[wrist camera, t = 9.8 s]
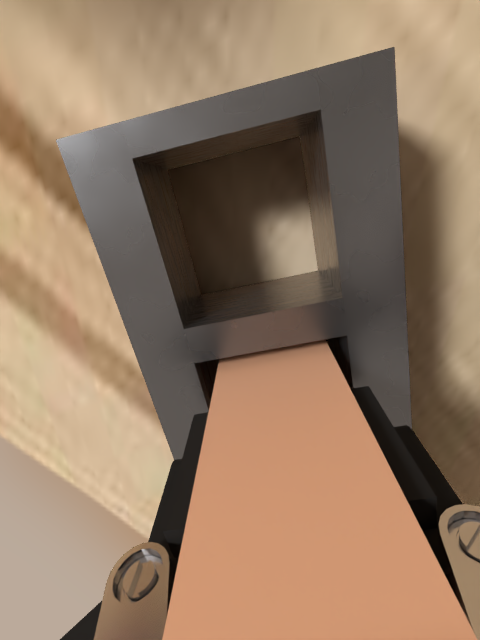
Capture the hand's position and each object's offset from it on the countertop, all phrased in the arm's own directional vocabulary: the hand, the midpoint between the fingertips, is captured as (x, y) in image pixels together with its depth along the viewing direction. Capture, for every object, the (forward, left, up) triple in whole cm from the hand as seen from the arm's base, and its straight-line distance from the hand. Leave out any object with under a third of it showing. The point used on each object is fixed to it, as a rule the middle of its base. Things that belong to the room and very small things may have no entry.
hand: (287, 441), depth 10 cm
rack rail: (0, 0, -5) cm, 5 cm away
